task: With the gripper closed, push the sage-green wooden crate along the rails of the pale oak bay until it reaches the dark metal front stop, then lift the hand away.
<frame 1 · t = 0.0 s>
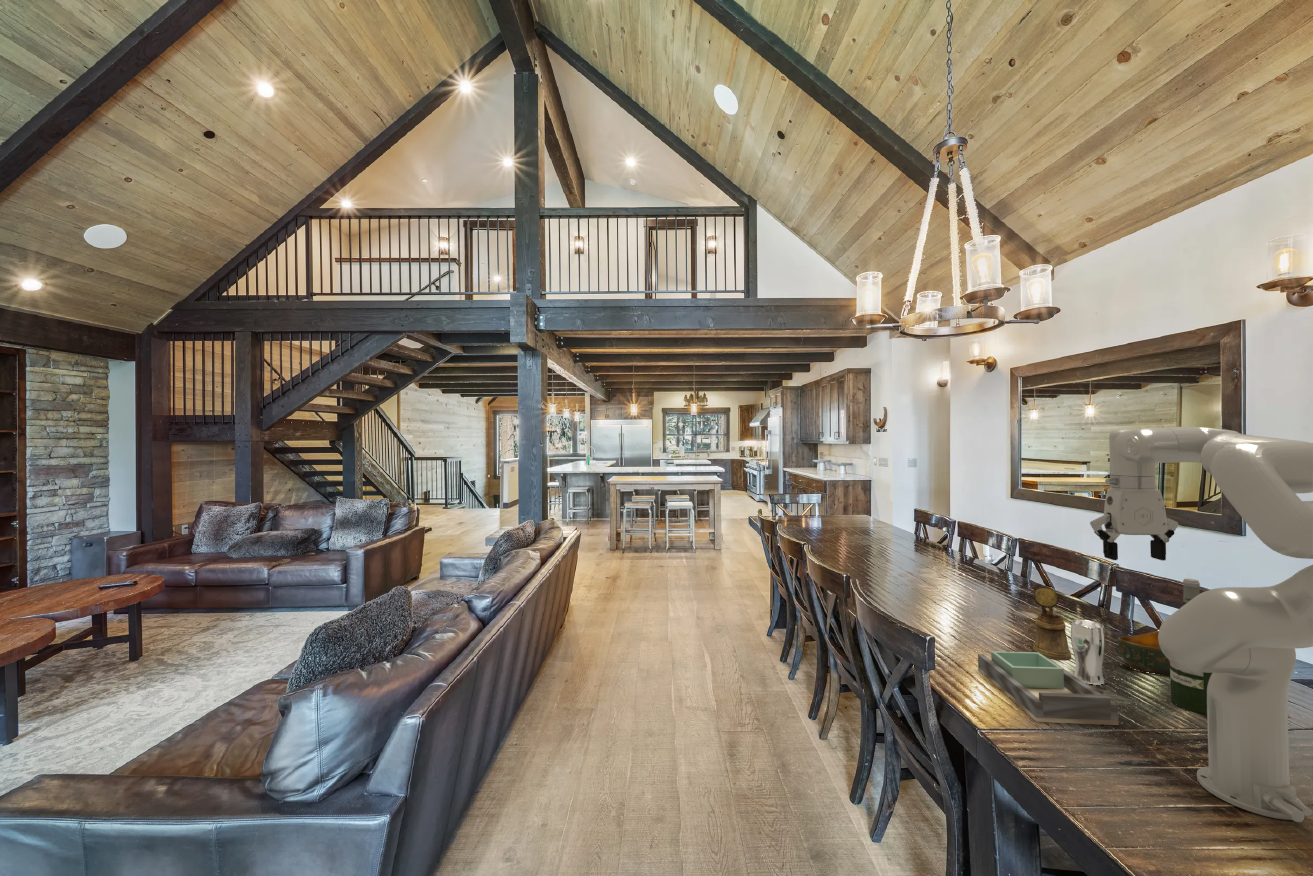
hand: (1134, 559, 115), 37 cm above the table, tool pointing down, fingers open, 9 cm apart
wine bottle: (1194, 707, 121), on the table
bay: (1040, 694, 128), on the table
crate: (1026, 669, 134), point 4 cm above the table, slide at 0.0 cm
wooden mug: (1050, 651, 153), on the table
green gold bowl: (1163, 670, 140), on the table
beer glass: (1088, 681, 135), on the table
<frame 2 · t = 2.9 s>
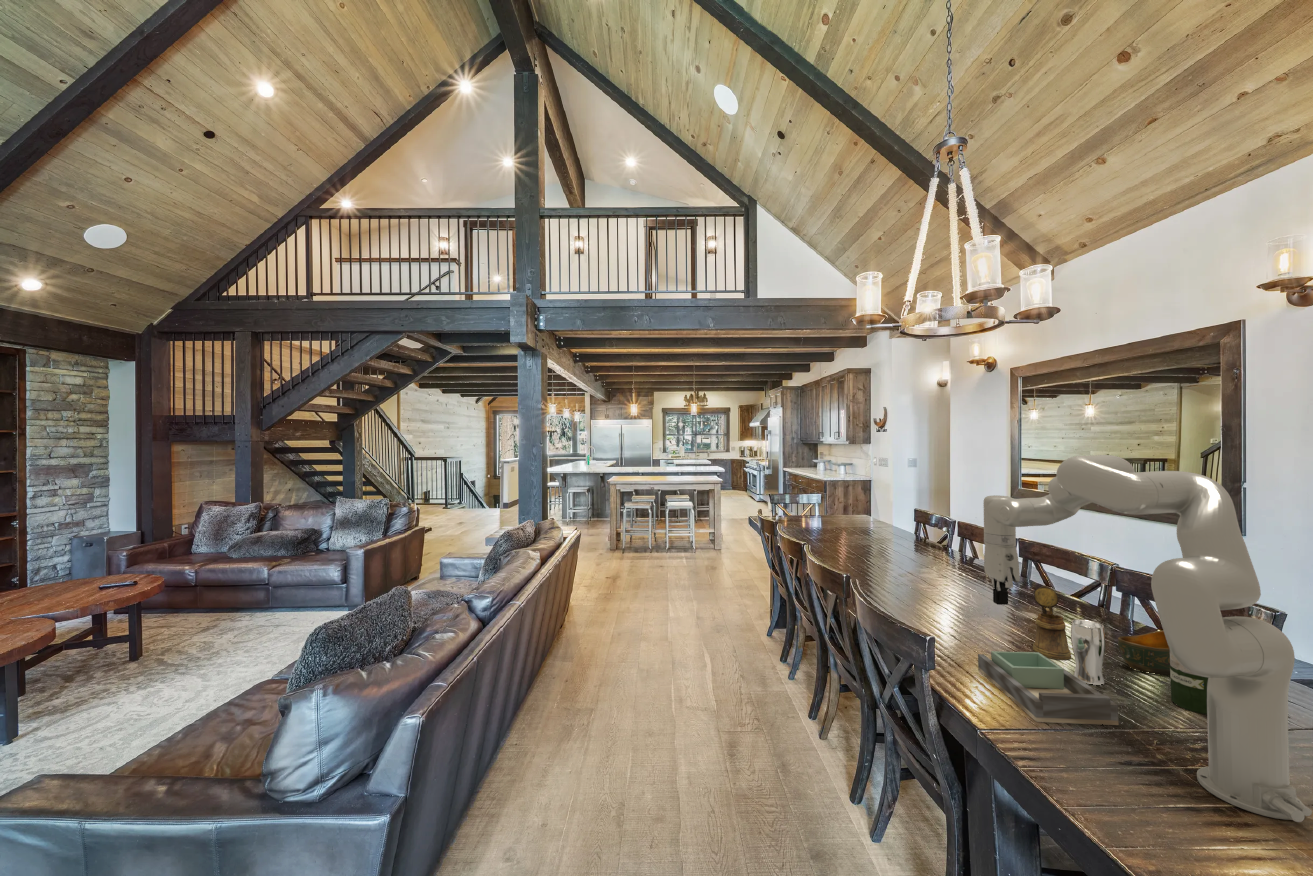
hand: (1000, 603, 145), 17 cm above the table, tool pointing down, fingers closed
nothing on the table moved.
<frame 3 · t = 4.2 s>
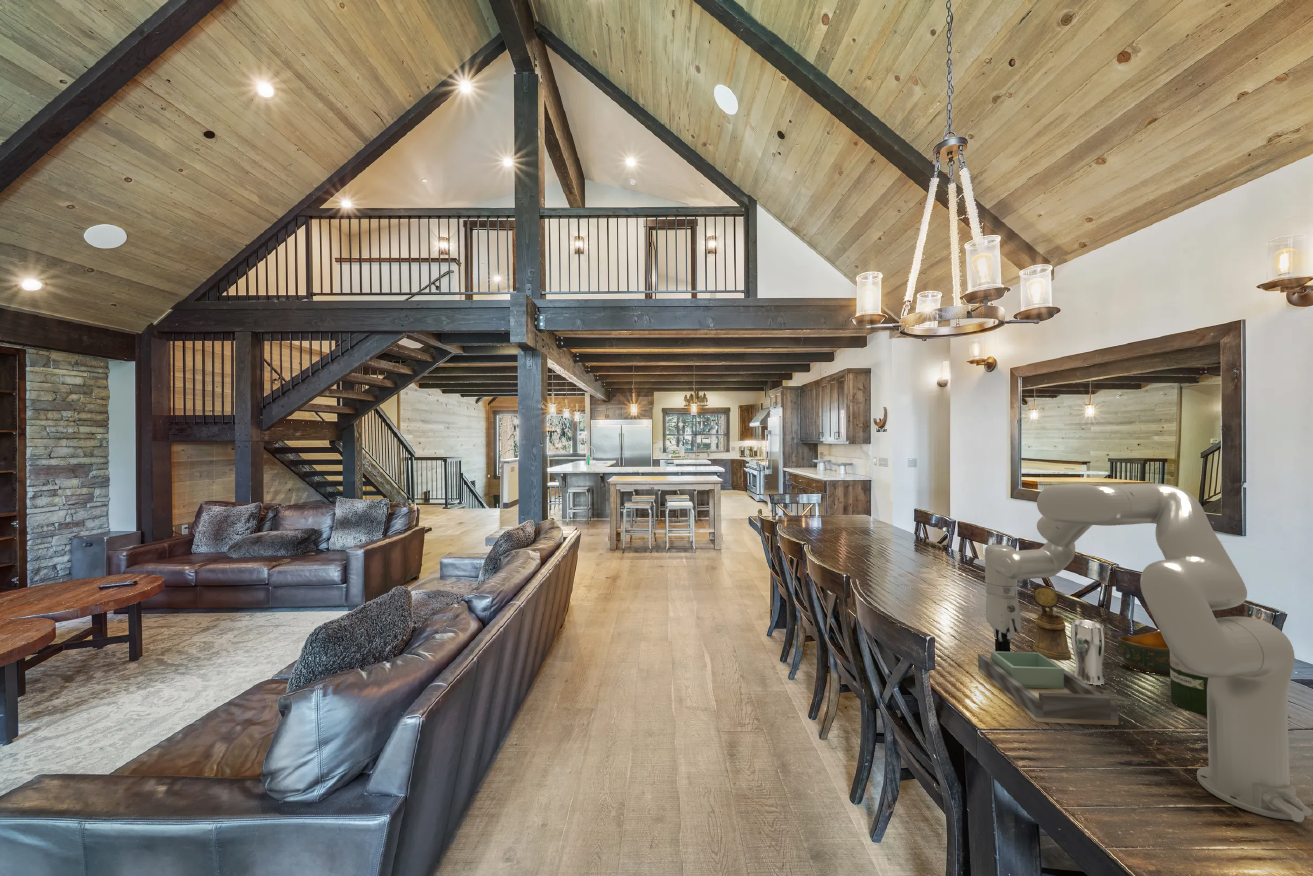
hand: (1002, 653, 145), 3 cm above the table, tool pointing down, fingers closed
nothing on the table moved.
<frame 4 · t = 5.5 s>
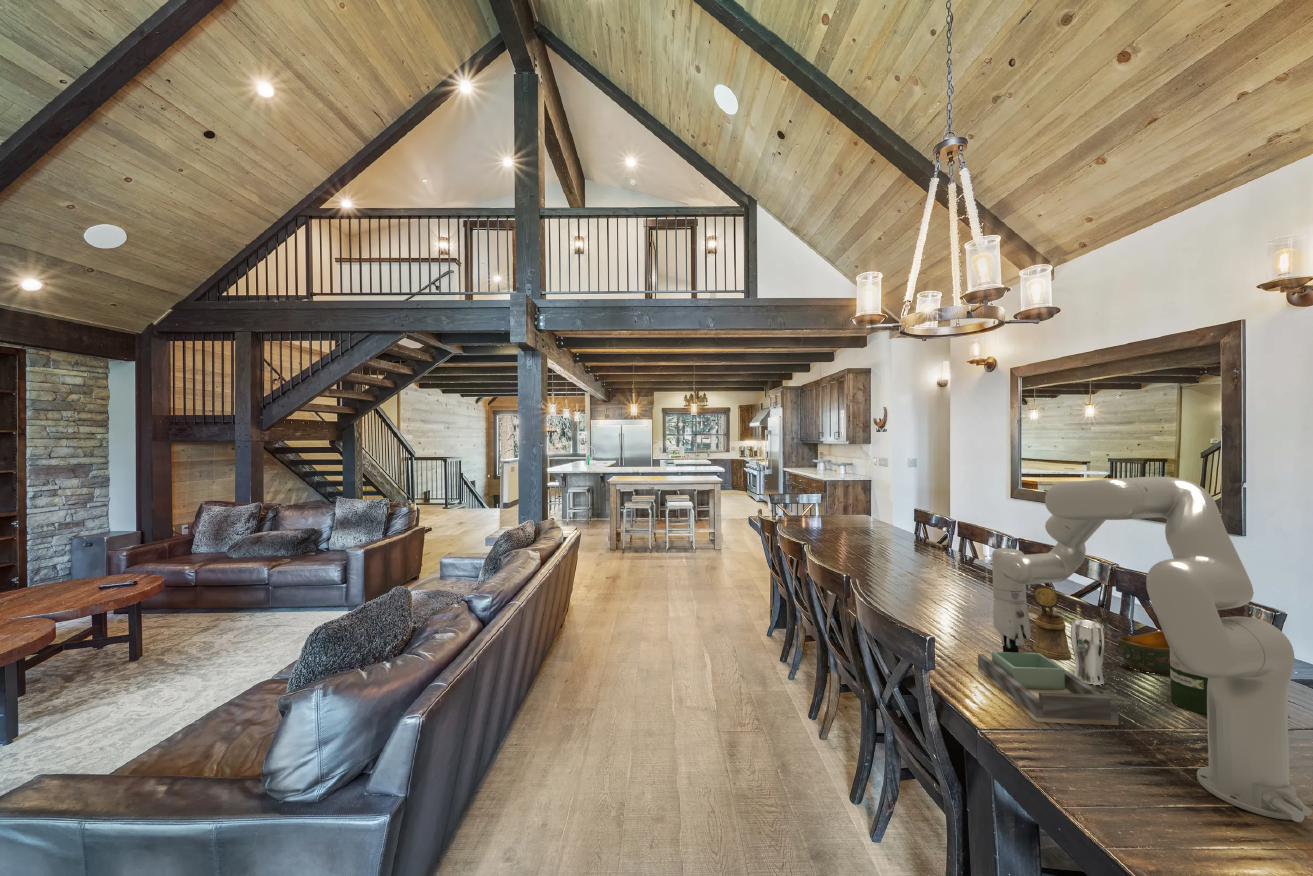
hand: (1010, 660, 141), 3 cm above the table, tool pointing down, fingers closed
crate: (1026, 669, 133), point 4 cm above the table, slide at 0.3 cm, touching gripper
everything else where it was.
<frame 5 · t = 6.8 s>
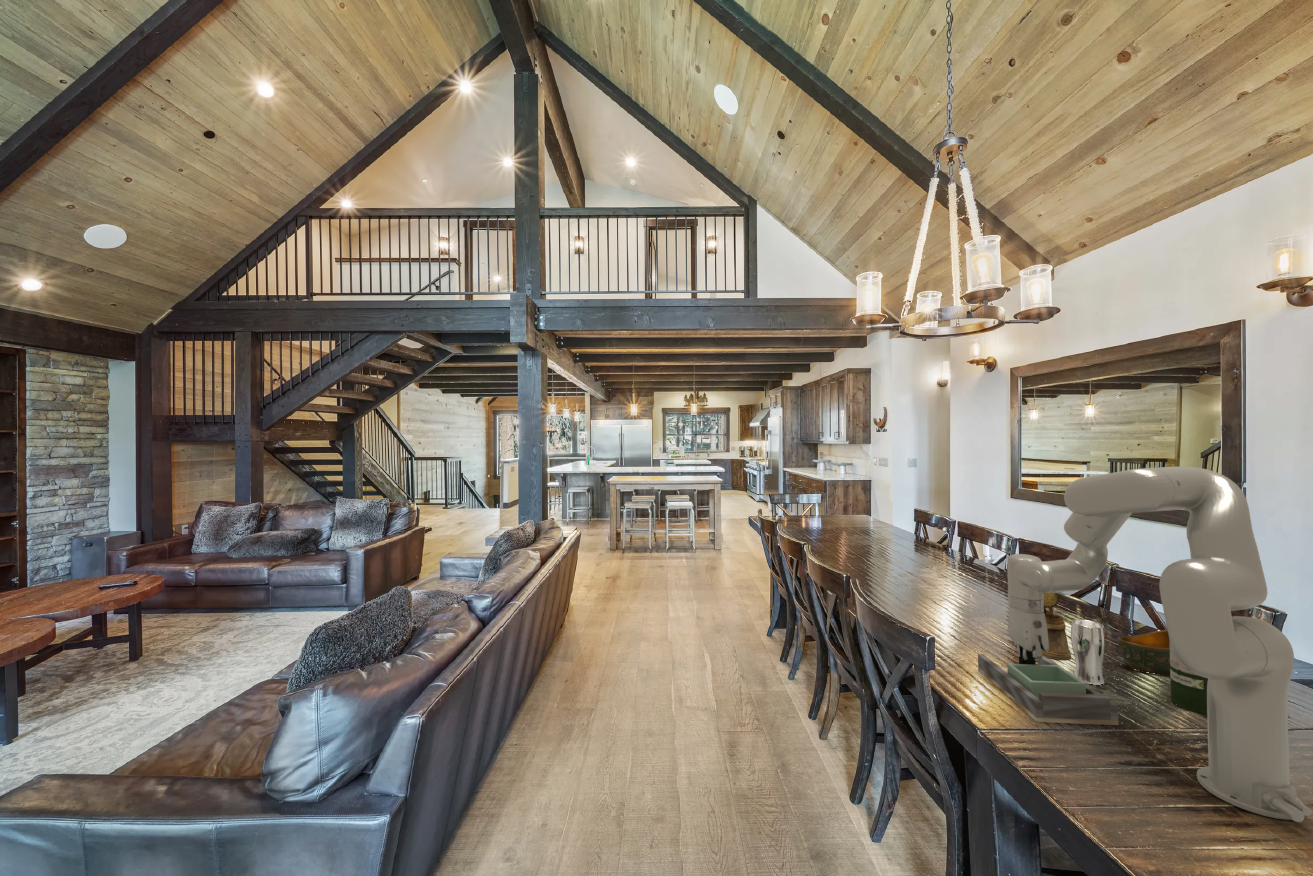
hand: (1027, 672, 133), 3 cm above the table, tool pointing down, fingers closed
crate: (1045, 683, 126), point 4 cm above the table, slide at 7.9 cm, touching gripper
everything else where it was.
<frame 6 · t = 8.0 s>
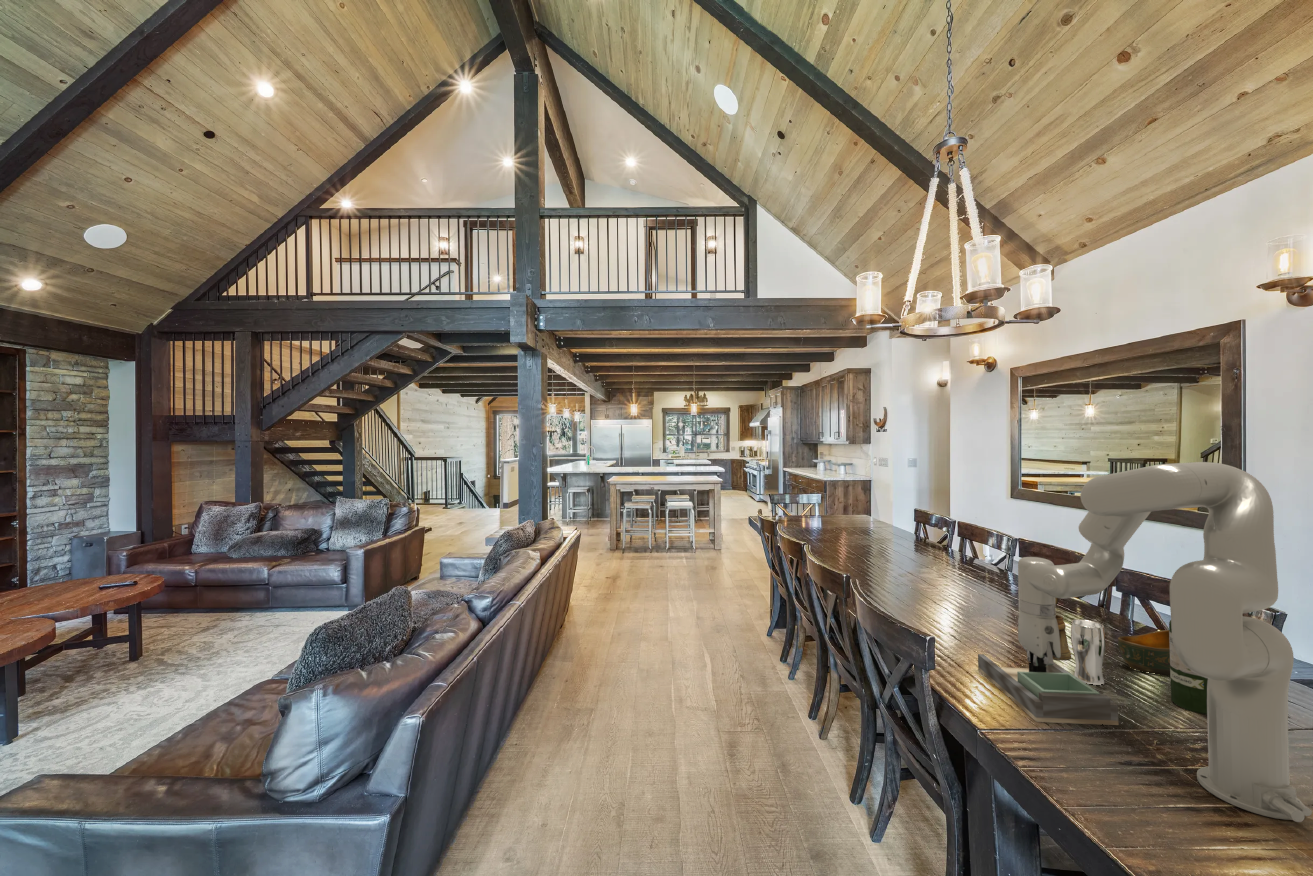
hand: (1037, 679, 129), 3 cm above the table, tool pointing down, fingers closed
crate: (1056, 692, 121), point 4 cm above the table, slide at 12.3 cm, touching gripper
everything else where it was.
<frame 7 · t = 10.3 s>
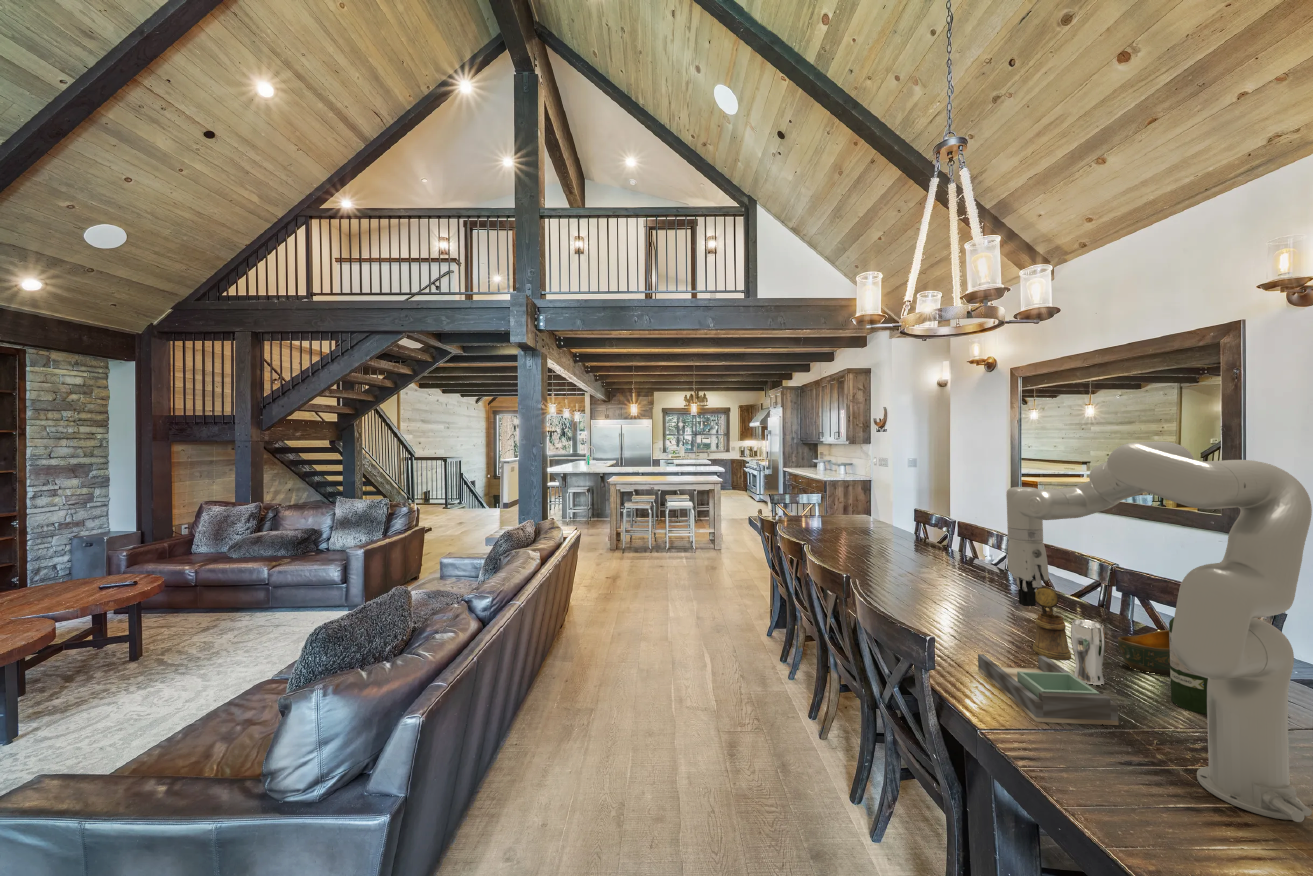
hand: (1027, 605, 133), 21 cm above the table, tool pointing down, fingers closed
crate: (1056, 692, 122), point 4 cm above the table, slide at 12.2 cm
everything else where it was.
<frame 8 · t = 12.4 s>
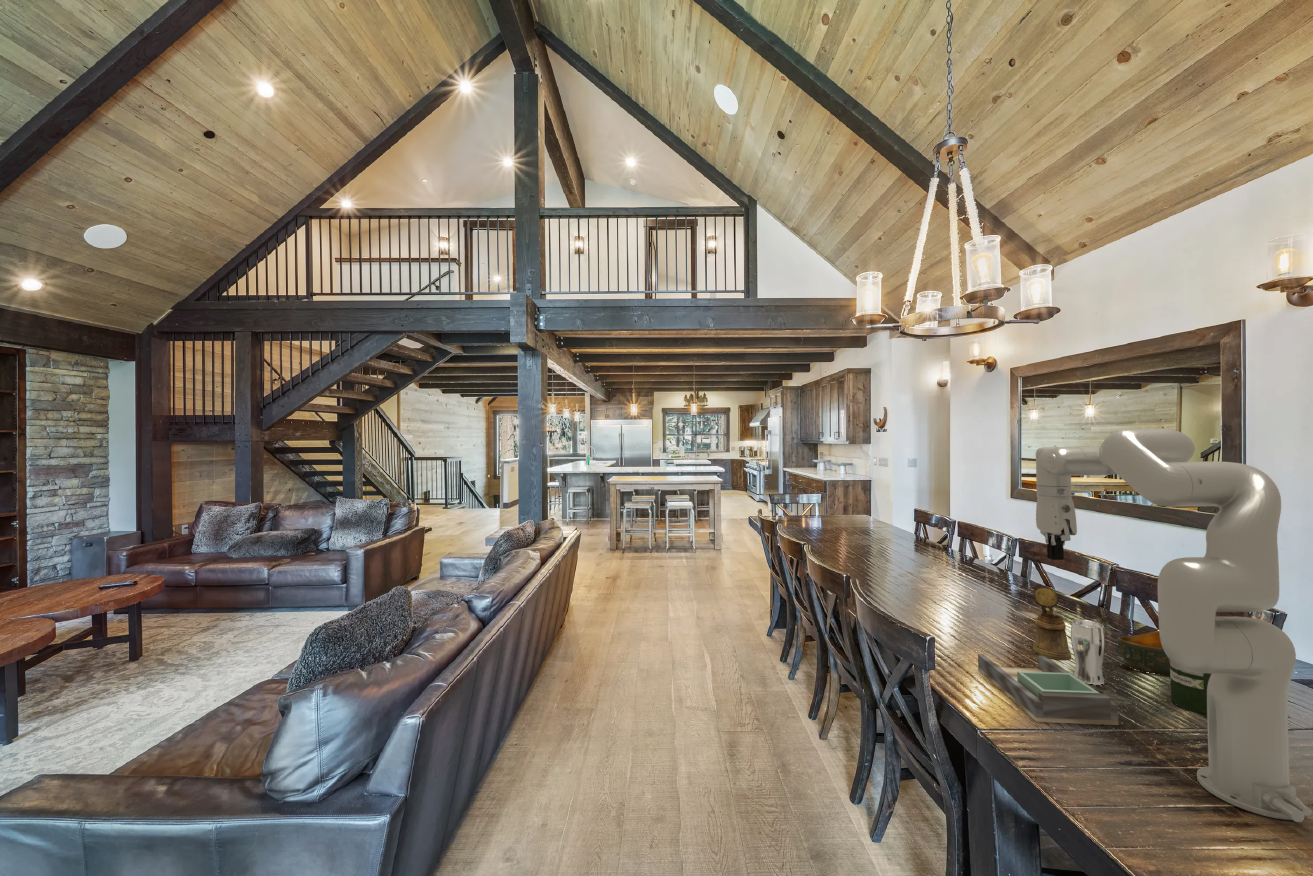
hand: (1055, 559, 139), 31 cm above the table, tool pointing down, fingers closed
nothing on the table moved.
at the end: crate slide at 12.2 cm; beer glass moved 0.2 cm from its start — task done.
